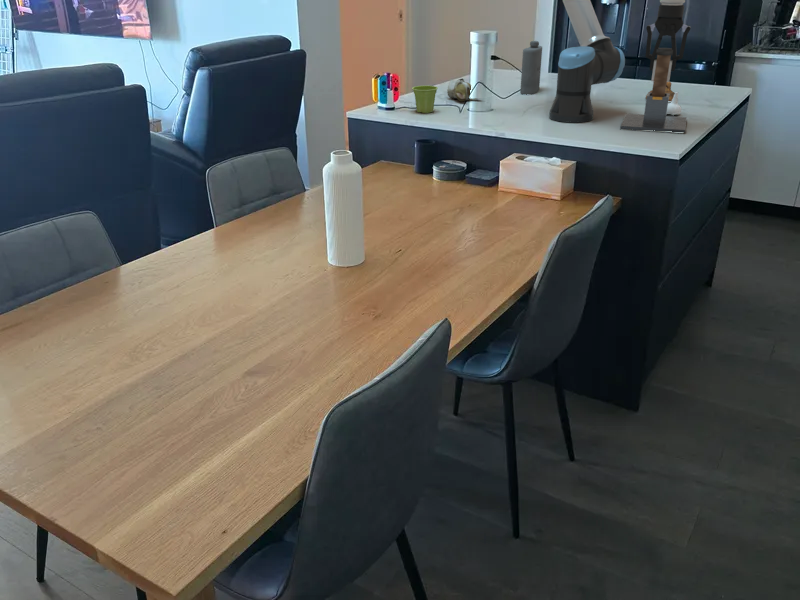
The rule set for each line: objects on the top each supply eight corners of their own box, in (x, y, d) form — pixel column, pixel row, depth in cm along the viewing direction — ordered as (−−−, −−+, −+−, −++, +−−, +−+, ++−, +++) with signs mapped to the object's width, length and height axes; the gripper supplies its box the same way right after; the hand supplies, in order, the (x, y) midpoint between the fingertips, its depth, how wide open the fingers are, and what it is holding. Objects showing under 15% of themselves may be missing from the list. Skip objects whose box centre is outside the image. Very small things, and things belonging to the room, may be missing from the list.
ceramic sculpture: (461, 73, 282) (485, 80, 272) (459, 95, 287) (483, 103, 276) (440, 76, 277) (464, 84, 266) (439, 98, 281) (463, 106, 271)
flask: (532, 95, 285) (536, 43, 276) (518, 94, 287) (522, 43, 278) (542, 89, 297) (545, 39, 288) (528, 88, 299) (532, 39, 290)
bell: (677, 98, 276) (681, 79, 273) (674, 104, 266) (678, 84, 263) (647, 96, 281) (650, 77, 277) (643, 102, 271) (645, 82, 268)
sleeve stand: (620, 129, 230) (624, 98, 226) (625, 116, 247) (629, 87, 242) (684, 133, 224) (689, 102, 219) (685, 120, 240) (691, 91, 236)
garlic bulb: (658, 114, 251) (662, 91, 247) (672, 112, 253) (676, 90, 249) (670, 117, 246) (674, 94, 242) (684, 115, 248) (688, 93, 244)
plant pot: (416, 115, 254) (416, 90, 250) (409, 110, 263) (409, 86, 259) (440, 113, 257) (441, 89, 253) (433, 108, 265) (433, 84, 261)
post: (645, 117, 233) (655, 49, 223) (646, 114, 237) (656, 47, 227) (663, 119, 231) (674, 50, 221) (664, 115, 235) (674, 48, 226)
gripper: (642, 4, 218) (632, 81, 228) (701, 5, 212) (687, 84, 223) (644, 2, 224) (634, 78, 235) (701, 3, 218) (688, 80, 229)
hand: (660, 80), depth 229 cm, fingers closed on post, 4 cm apart
